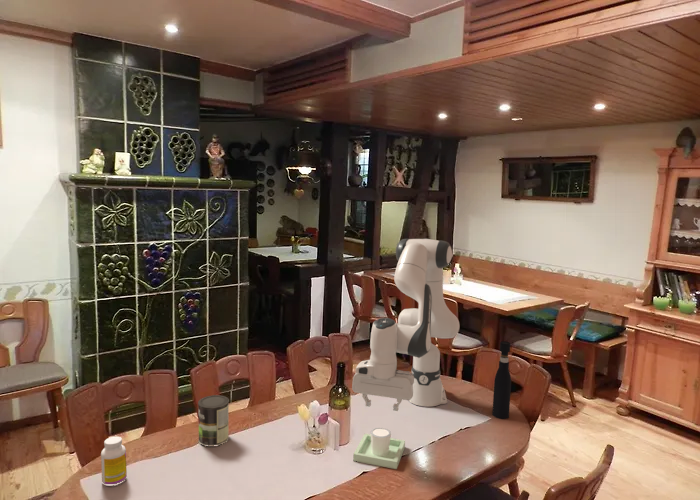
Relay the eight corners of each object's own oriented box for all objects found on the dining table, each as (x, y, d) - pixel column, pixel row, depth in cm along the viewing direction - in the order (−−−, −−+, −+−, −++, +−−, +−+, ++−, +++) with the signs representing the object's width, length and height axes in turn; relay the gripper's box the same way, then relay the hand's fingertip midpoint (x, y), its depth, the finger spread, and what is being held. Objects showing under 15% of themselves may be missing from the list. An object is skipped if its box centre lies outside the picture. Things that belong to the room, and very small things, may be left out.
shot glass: (389, 458, 160) (390, 438, 159) (368, 456, 161) (369, 436, 160) (390, 447, 167) (391, 428, 166) (370, 445, 168) (371, 426, 167)
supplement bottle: (130, 481, 145) (129, 440, 143) (107, 490, 140) (106, 448, 139) (120, 472, 149) (119, 432, 148) (98, 481, 144) (96, 440, 143)
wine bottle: (510, 419, 192) (515, 345, 188) (493, 418, 192) (498, 344, 189) (507, 412, 198) (512, 340, 194) (491, 411, 199) (495, 339, 195)
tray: (364, 439, 173) (364, 433, 173) (404, 447, 169) (405, 440, 168) (353, 460, 159) (353, 453, 159) (396, 469, 155) (396, 462, 155)
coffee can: (201, 449, 163) (201, 409, 162) (195, 436, 172) (195, 397, 171) (232, 443, 168) (232, 404, 166) (225, 430, 177) (225, 393, 175)
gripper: (416, 368, 160) (414, 408, 162) (356, 361, 166) (355, 399, 168) (412, 375, 154) (411, 417, 156) (351, 367, 160) (350, 407, 162)
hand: (381, 407), depth 162 cm, fingers open, 8 cm apart
